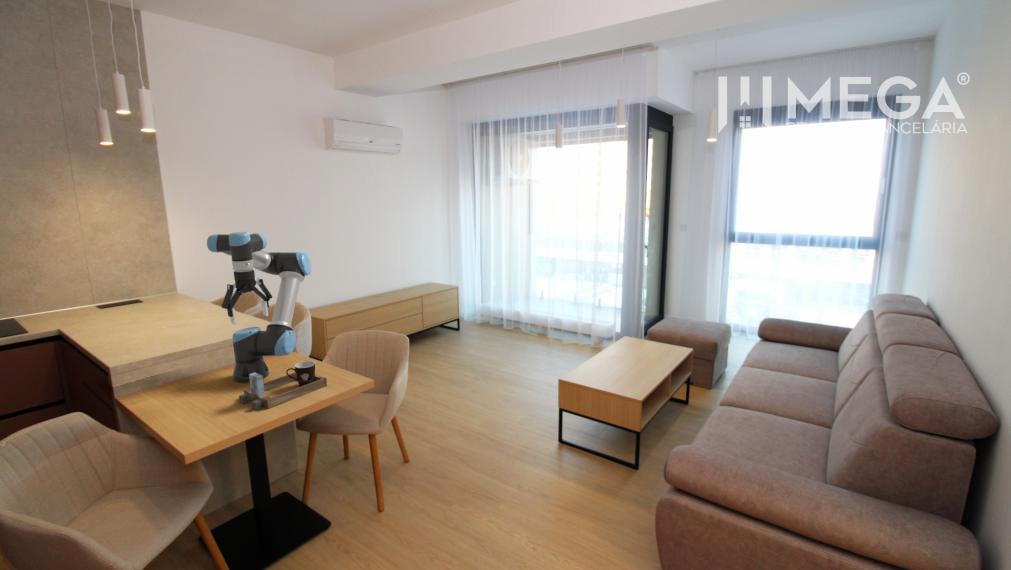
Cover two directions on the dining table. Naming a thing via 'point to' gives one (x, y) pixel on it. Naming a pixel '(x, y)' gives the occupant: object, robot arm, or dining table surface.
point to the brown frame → (259, 387)
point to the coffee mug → (304, 372)
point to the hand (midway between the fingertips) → (250, 319)
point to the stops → (255, 404)
